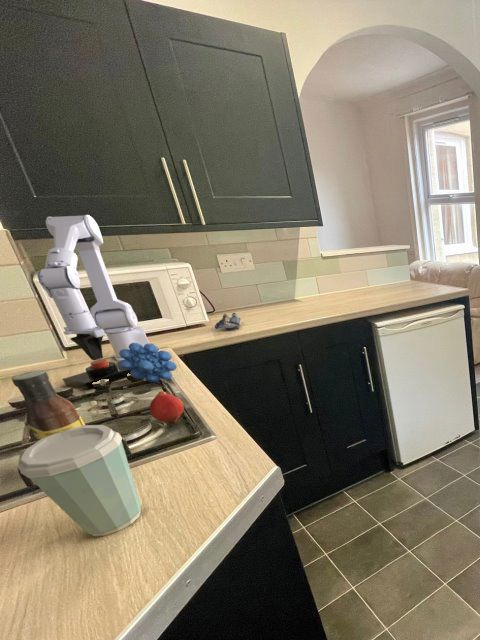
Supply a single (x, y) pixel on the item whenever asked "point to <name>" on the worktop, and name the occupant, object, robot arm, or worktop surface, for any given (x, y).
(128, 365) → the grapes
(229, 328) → the blue grey figurine
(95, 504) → the disposable coffee cup
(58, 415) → the sauce bottle
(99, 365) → the button
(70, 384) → the switch box
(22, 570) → the worktop surface
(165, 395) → the onion
